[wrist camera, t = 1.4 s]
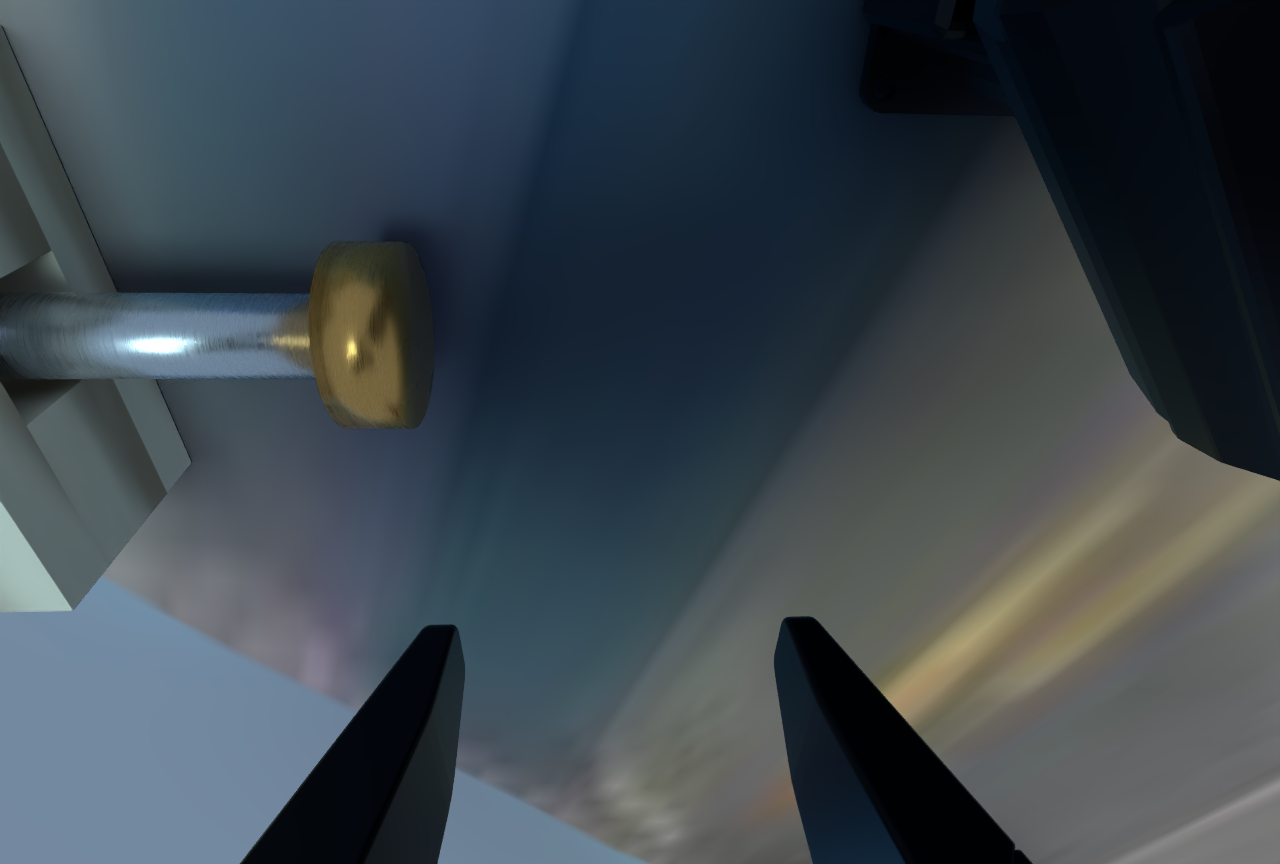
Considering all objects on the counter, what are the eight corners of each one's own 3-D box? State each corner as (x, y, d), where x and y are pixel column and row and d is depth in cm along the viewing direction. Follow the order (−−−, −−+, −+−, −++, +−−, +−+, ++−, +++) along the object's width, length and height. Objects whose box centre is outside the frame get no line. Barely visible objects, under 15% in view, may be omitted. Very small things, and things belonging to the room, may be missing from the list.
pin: (417, 216, 17) (368, 286, 13) (441, 371, 19) (406, 465, 16) (-76, 209, 16) (-268, 282, 13) (16, 371, 19) (-123, 470, 15)
